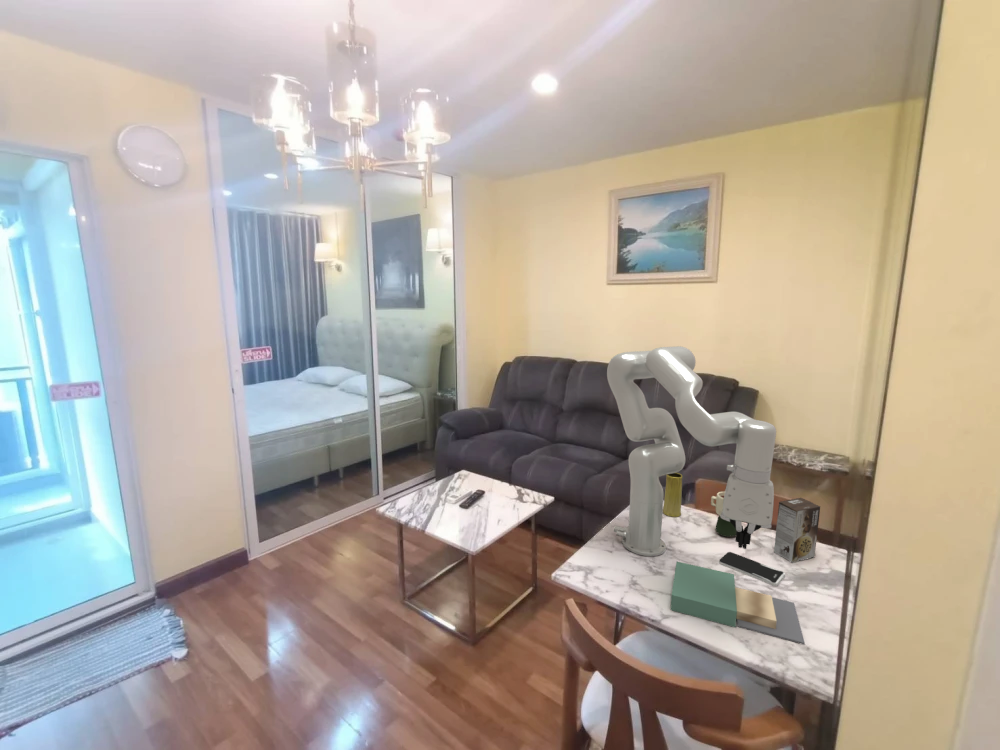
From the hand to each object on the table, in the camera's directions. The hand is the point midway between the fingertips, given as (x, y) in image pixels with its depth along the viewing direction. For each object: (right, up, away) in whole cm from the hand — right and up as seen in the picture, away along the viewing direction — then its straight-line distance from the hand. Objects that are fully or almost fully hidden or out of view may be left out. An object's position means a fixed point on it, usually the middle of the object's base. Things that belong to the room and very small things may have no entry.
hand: (742, 545), depth 110 cm
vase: (+3, -8, +52) cm, 53 cm away
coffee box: (+29, -13, +26) cm, 41 cm away
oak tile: (+3, -16, 0) cm, 16 cm away
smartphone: (+12, -14, +18) cm, 26 cm away
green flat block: (-7, -15, +5) cm, 18 cm away
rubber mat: (+6, -16, -1) cm, 17 cm away
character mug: (+15, -11, +38) cm, 42 cm away
